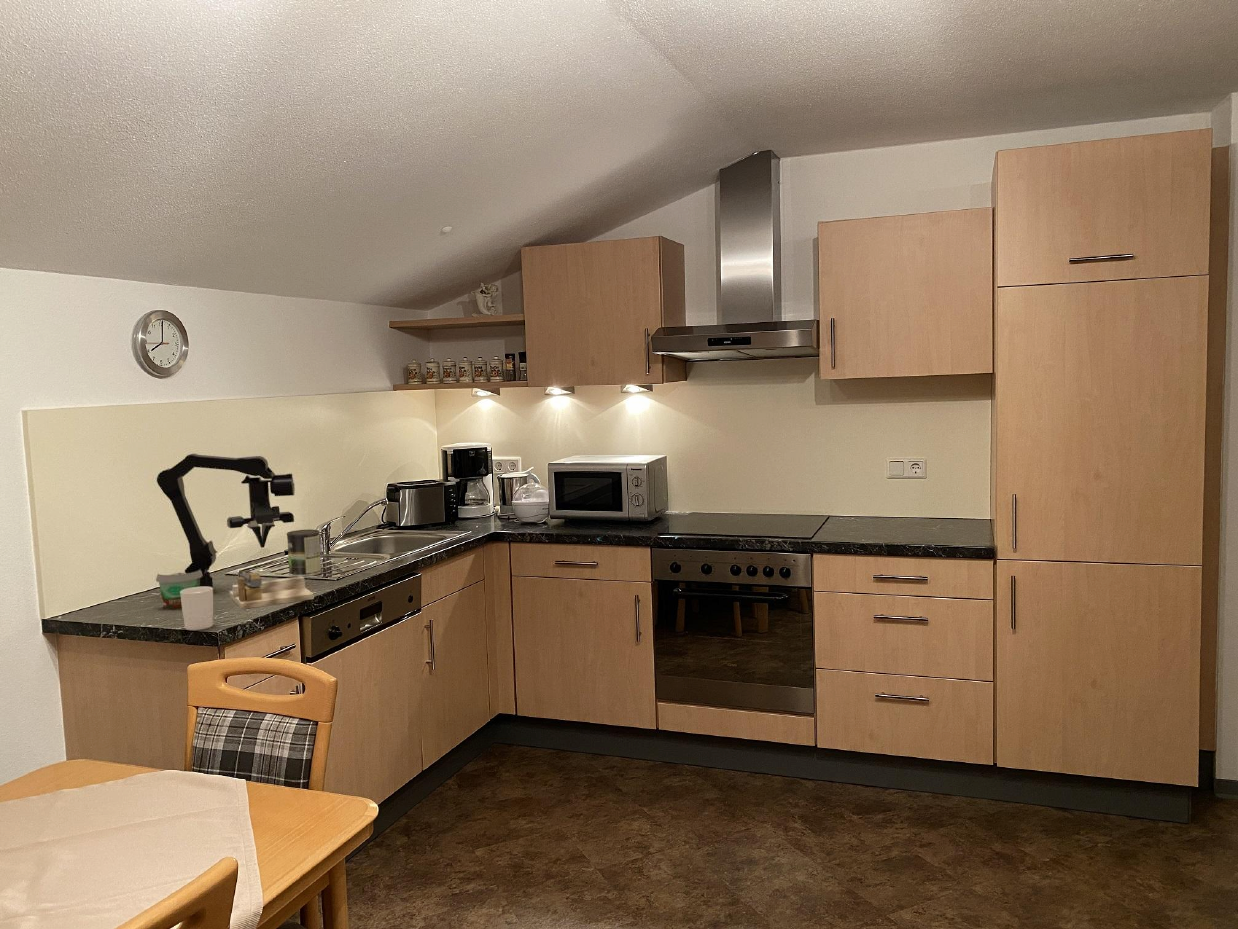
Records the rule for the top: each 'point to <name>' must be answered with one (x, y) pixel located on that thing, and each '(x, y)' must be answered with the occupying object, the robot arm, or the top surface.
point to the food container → (176, 587)
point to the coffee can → (304, 553)
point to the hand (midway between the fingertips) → (262, 547)
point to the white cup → (197, 607)
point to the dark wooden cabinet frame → (250, 578)
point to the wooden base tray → (270, 592)
